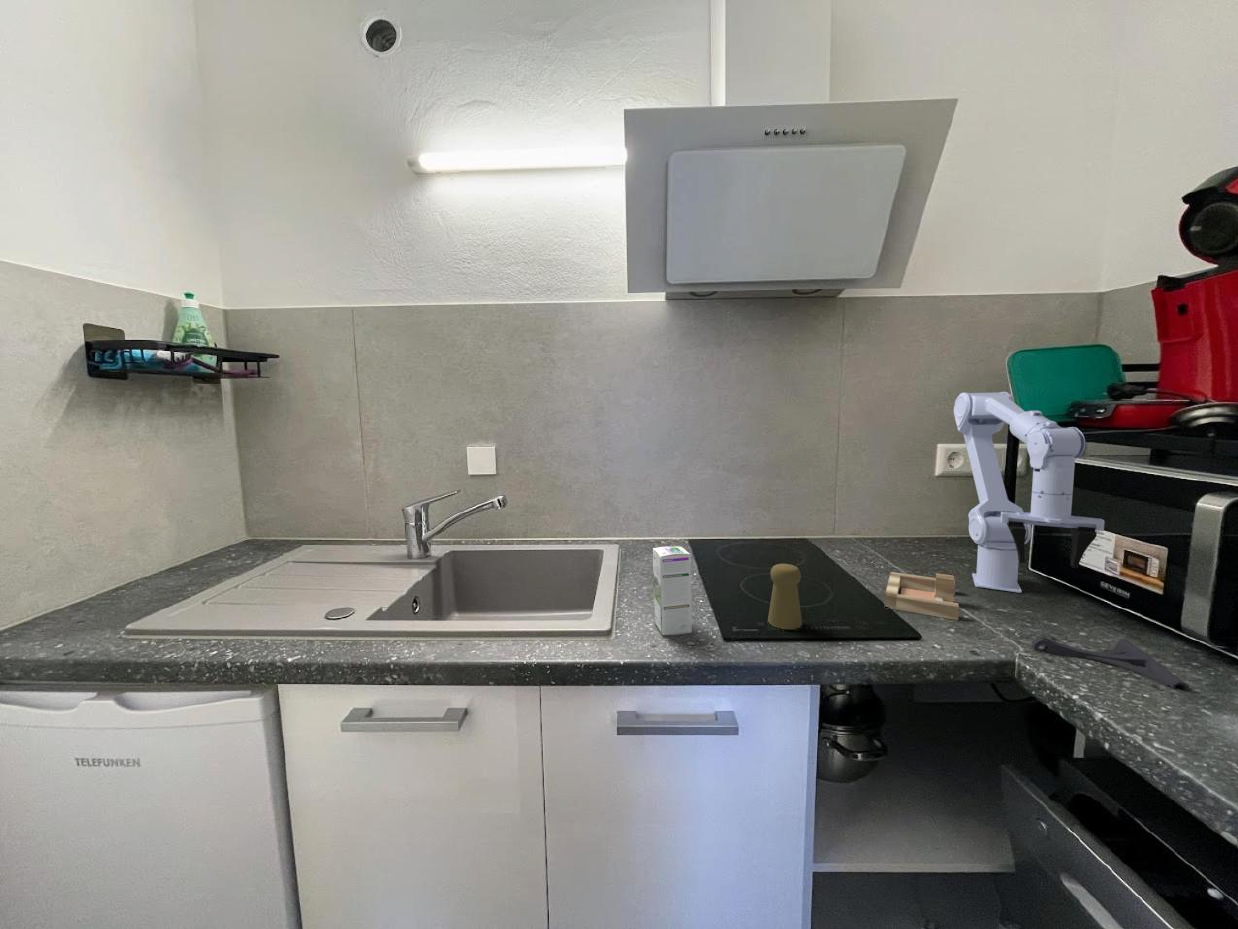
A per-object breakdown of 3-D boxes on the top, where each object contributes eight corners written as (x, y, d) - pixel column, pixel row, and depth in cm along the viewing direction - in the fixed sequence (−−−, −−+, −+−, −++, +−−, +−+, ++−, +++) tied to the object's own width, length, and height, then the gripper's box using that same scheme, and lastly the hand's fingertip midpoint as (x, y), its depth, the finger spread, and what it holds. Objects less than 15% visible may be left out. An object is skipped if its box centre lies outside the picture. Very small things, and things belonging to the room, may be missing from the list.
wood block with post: (934, 594, 104) (935, 568, 104) (951, 596, 103) (953, 571, 102) (935, 610, 96) (936, 582, 96) (953, 613, 94) (955, 585, 94)
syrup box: (693, 633, 87) (692, 552, 86) (660, 636, 86) (660, 555, 85) (682, 620, 93) (682, 544, 91) (652, 623, 92) (651, 546, 90)
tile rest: (890, 582, 112) (890, 572, 112) (954, 592, 105) (954, 580, 105) (884, 607, 97) (884, 595, 97) (958, 620, 91) (958, 607, 91)
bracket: (1016, 635, 86) (1017, 619, 86) (1129, 649, 80) (1131, 633, 80) (1050, 675, 73) (1051, 657, 73) (1188, 696, 67) (1190, 676, 67)
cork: (789, 615, 94) (790, 559, 93) (809, 628, 88) (810, 568, 87) (761, 619, 93) (762, 562, 92) (779, 632, 87) (780, 571, 86)
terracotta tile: (901, 594, 106) (901, 587, 106) (934, 599, 103) (934, 592, 103) (900, 603, 101) (900, 596, 101) (934, 609, 98) (935, 601, 98)
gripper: (1005, 492, 93) (1001, 563, 94) (1112, 498, 85) (1105, 575, 86) (1000, 488, 98) (997, 554, 100) (1100, 493, 91) (1094, 565, 92)
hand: (1046, 563), depth 93 cm, fingers open, 7 cm apart
